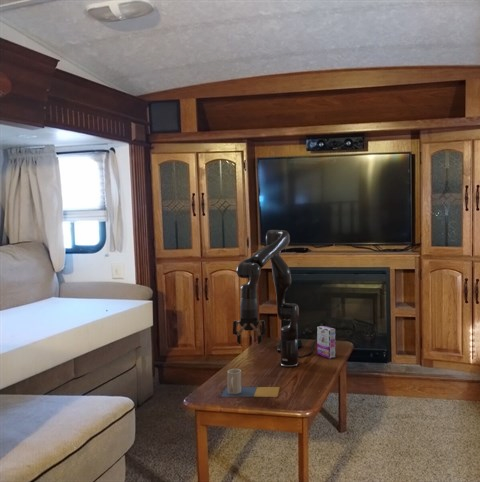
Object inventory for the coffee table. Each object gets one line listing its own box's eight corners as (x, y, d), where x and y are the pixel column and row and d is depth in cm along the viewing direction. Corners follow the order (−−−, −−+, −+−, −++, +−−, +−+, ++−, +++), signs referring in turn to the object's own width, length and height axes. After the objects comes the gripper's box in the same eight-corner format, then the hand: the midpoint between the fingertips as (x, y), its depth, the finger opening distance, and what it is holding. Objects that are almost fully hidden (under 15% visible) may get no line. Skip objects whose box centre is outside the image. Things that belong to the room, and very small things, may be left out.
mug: (229, 389, 200) (229, 368, 200) (242, 389, 200) (242, 368, 200) (224, 397, 191) (224, 375, 191) (238, 397, 191) (238, 375, 191)
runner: (226, 387, 203) (226, 387, 203) (279, 387, 203) (279, 387, 203) (220, 397, 192) (220, 396, 192) (277, 397, 192) (277, 396, 192)
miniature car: (303, 346, 270) (302, 333, 269) (289, 354, 253) (289, 340, 253) (290, 344, 273) (290, 331, 273) (275, 352, 257) (275, 339, 256)
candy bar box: (336, 357, 247) (336, 328, 247) (329, 359, 244) (329, 330, 243) (323, 352, 256) (323, 325, 255) (316, 354, 253) (316, 326, 252)
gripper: (266, 305, 197) (266, 341, 198) (234, 305, 197) (234, 341, 198) (264, 309, 190) (264, 345, 190) (231, 309, 189) (231, 346, 190)
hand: (249, 343), depth 194 cm, fingers open, 8 cm apart
